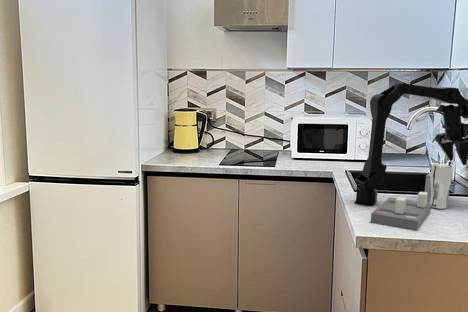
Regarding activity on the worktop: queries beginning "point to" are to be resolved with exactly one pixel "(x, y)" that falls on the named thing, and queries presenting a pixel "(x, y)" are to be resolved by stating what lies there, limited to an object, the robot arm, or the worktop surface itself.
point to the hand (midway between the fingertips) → (457, 162)
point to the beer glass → (440, 185)
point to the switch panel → (406, 220)
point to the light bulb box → (428, 190)
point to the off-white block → (422, 199)
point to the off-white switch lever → (400, 205)
